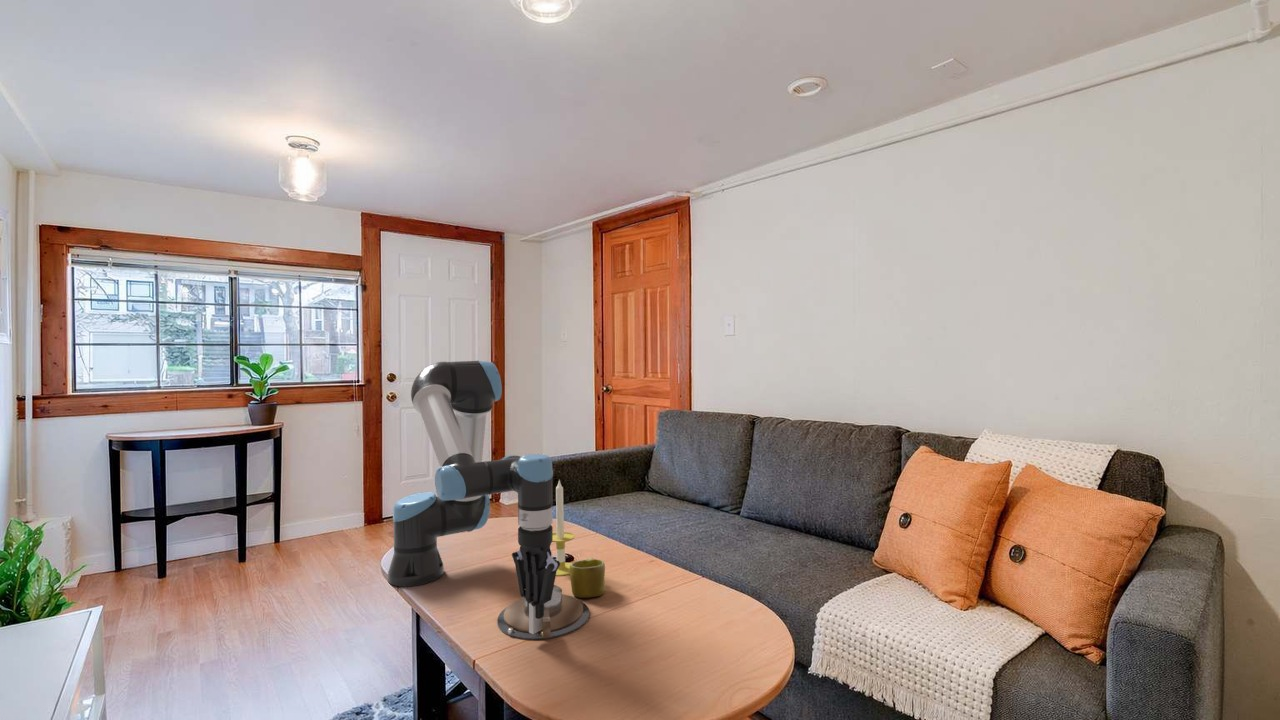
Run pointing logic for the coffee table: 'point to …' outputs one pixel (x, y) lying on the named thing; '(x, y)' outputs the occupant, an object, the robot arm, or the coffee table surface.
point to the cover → (551, 602)
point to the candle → (561, 534)
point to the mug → (587, 578)
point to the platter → (566, 617)
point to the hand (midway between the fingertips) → (535, 630)
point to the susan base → (539, 635)
